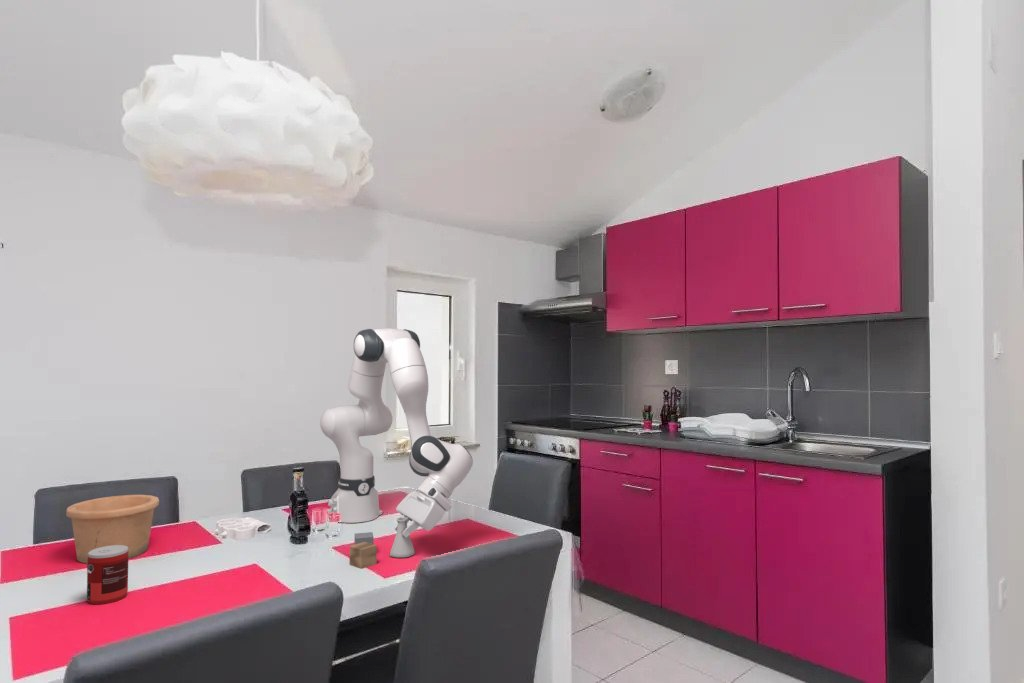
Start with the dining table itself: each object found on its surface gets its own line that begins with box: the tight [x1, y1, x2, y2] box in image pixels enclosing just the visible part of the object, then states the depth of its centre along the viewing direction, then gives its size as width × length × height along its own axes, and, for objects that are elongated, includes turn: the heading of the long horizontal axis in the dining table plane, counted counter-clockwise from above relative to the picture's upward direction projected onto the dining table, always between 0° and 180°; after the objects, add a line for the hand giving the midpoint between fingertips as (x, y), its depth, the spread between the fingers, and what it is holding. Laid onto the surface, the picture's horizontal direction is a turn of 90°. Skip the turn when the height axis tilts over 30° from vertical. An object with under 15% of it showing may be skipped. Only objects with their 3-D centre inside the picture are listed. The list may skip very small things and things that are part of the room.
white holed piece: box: [212, 516, 272, 541], centre depth 189 cm, size 3×18×15 cm
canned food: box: [86, 545, 129, 605], centre depth 137 cm, size 8×8×11 cm
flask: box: [389, 516, 416, 558], centre depth 167 cm, size 7×7×10 cm
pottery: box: [65, 494, 160, 564], centre depth 168 cm, size 22×22×14 cm
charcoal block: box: [353, 531, 375, 545], centre depth 169 cm, size 5×5×5 cm
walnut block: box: [349, 542, 378, 570], centre depth 159 cm, size 5×5×5 cm
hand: (400, 533), depth 167 cm, fingers closed on flask, 3 cm apart
